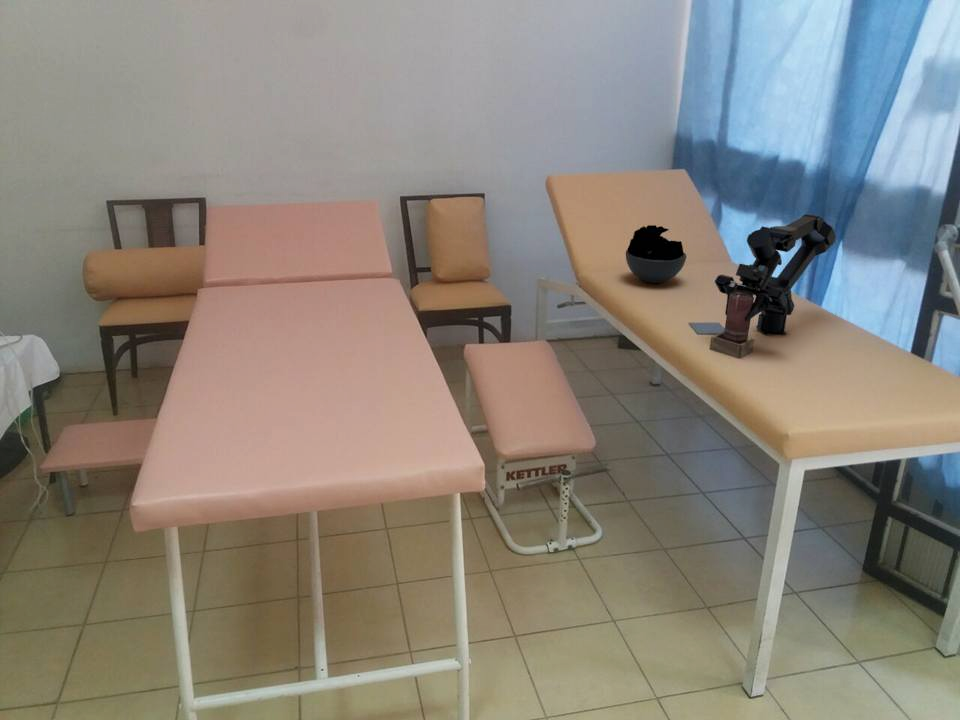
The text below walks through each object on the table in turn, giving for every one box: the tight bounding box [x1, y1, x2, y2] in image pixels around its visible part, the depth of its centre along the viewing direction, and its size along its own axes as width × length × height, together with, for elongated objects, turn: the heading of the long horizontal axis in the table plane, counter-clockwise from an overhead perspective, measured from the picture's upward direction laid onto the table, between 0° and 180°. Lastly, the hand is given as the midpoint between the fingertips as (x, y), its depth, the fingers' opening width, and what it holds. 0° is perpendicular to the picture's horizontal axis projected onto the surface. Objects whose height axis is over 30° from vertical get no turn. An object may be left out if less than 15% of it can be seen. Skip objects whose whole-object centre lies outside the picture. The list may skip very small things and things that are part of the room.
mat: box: [688, 322, 725, 335], centre depth 223 cm, size 9×9×1 cm
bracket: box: [709, 331, 756, 359], centre depth 208 cm, size 7×9×4 cm
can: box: [723, 290, 755, 344], centre depth 206 cm, size 6×6×14 cm
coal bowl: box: [625, 224, 687, 284], centre depth 262 cm, size 20×20×19 cm
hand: (735, 317), depth 205 cm, fingers closed on can, 5 cm apart
